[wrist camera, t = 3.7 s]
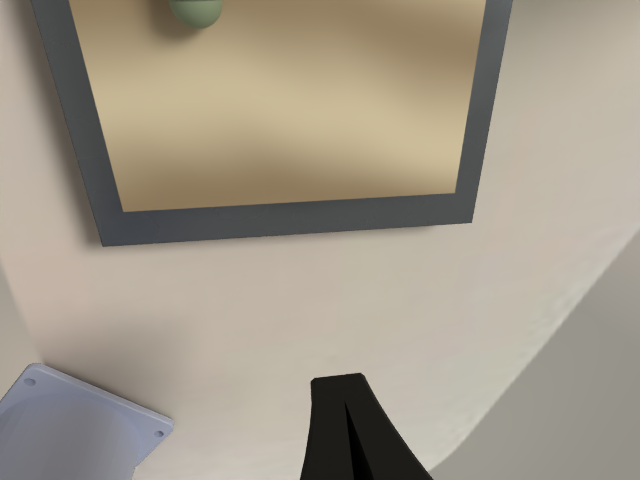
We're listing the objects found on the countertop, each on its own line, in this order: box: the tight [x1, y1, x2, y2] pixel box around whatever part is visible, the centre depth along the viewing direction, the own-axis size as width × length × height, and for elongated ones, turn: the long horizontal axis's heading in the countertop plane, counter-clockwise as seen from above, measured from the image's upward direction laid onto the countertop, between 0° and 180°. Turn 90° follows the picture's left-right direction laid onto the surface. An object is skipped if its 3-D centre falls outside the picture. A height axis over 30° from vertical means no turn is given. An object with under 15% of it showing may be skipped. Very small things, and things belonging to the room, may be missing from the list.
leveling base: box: [31, 0, 513, 247], centre depth 15 cm, size 16×15×2 cm
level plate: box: [69, 0, 486, 212], centre depth 13 cm, size 12×12×2 cm
